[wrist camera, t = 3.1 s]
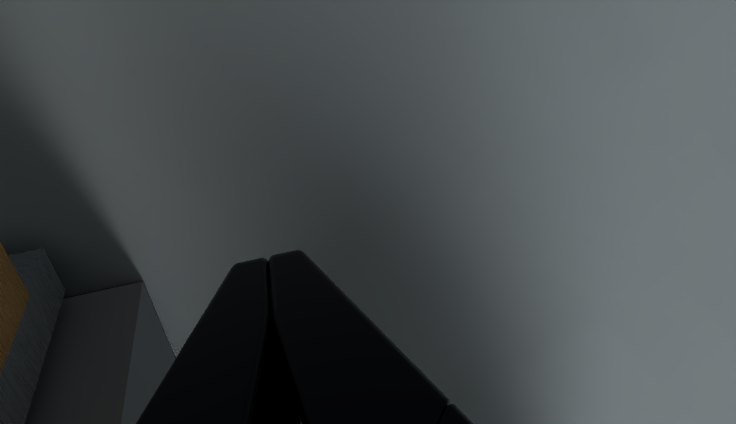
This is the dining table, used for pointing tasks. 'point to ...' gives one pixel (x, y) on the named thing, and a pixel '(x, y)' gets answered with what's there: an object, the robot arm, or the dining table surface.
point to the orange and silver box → (25, 326)
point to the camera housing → (102, 359)
